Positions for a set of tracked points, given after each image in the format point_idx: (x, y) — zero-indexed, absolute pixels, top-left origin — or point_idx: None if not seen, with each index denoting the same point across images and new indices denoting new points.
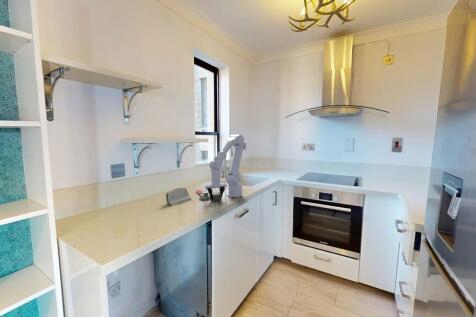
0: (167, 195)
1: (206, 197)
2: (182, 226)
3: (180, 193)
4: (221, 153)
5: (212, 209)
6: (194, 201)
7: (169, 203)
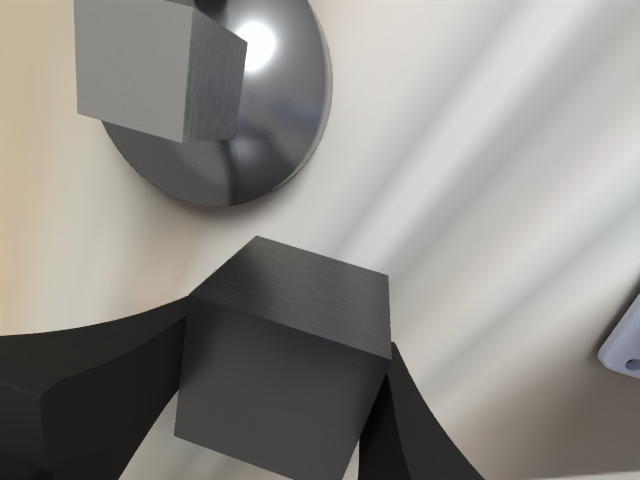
0: None
1: (188, 166)
2: None
3: None
4: None
5: (143, 475)
6: (27, 117)
7: None
